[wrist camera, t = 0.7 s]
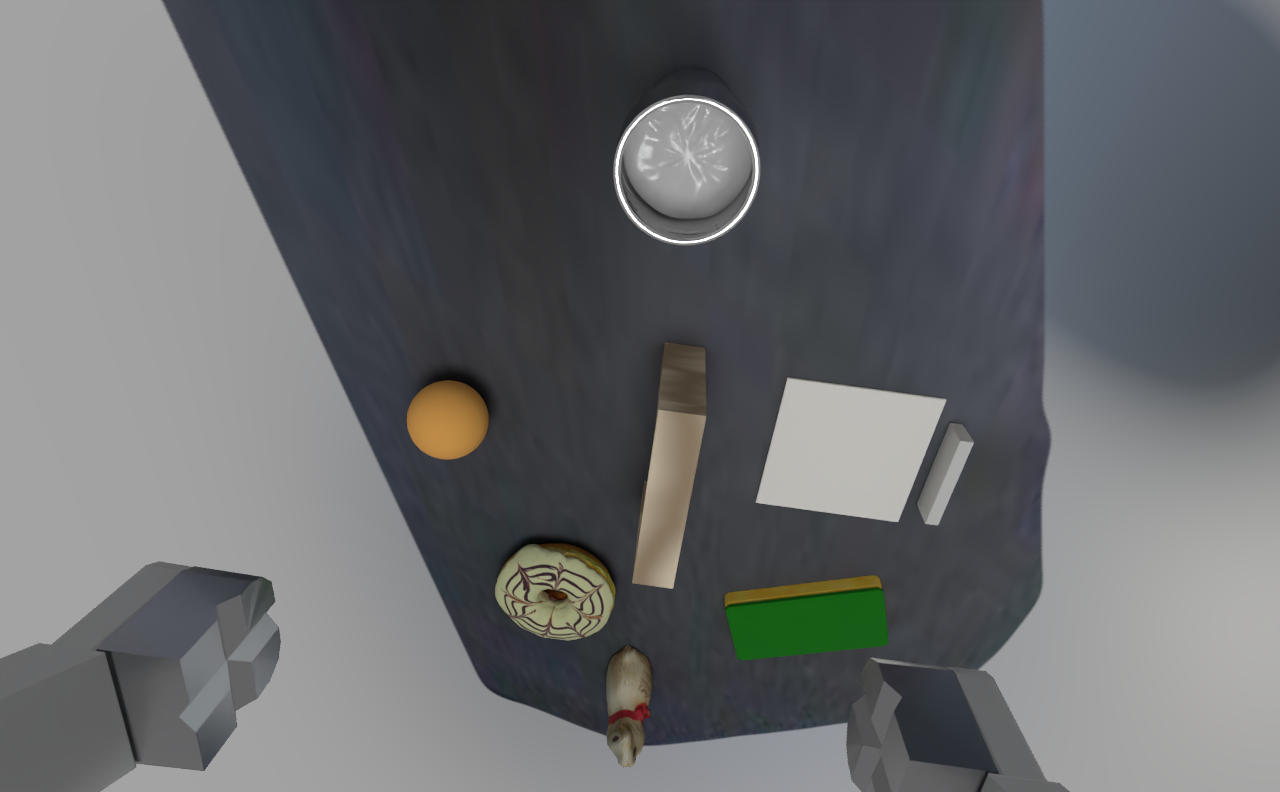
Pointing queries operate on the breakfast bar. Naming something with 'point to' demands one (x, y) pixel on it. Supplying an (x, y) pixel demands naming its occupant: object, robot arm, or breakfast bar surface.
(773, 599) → the dish sponge
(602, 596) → the decorated donut
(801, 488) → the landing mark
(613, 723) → the chocolate bunny
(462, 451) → the ball
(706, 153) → the beer glass
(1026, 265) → the breakfast bar surface
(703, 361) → the bridge
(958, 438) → the stopper
